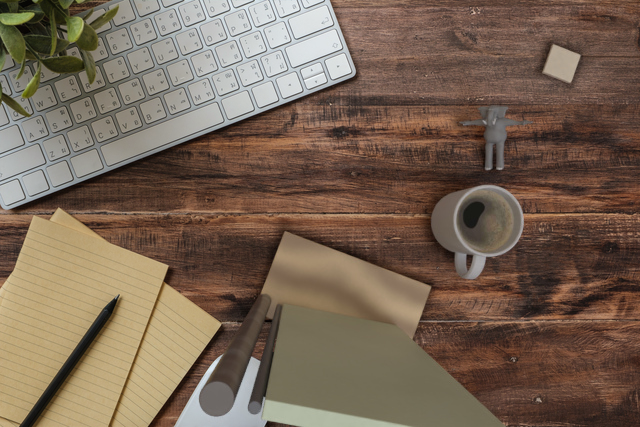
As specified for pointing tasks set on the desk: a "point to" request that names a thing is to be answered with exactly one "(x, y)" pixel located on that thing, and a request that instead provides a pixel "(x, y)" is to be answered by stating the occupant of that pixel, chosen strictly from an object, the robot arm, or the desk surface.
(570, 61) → the coaster
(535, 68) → the desk surface
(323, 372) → the door
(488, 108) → the elephant figurine
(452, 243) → the mug
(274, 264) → the door stand
